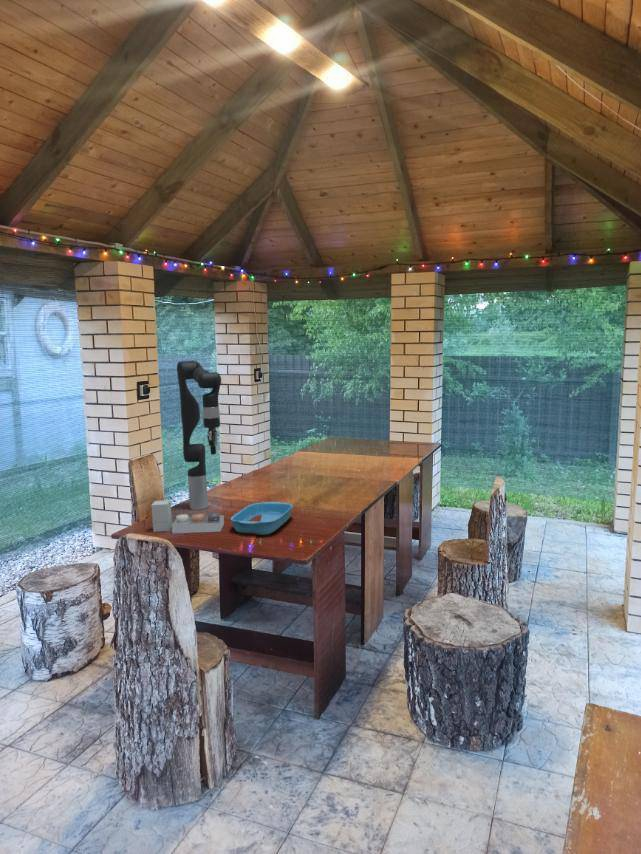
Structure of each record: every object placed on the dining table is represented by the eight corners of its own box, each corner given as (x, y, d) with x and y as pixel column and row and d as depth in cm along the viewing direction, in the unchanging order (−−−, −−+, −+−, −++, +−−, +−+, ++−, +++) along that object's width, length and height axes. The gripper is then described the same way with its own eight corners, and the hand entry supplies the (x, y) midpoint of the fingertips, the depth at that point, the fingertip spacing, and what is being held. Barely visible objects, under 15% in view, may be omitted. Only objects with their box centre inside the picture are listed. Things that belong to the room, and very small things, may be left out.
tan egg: (194, 527, 266) (193, 513, 266) (205, 527, 267) (204, 513, 266) (191, 531, 261) (190, 516, 260) (203, 531, 261) (202, 516, 260)
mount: (178, 527, 270) (177, 516, 269) (224, 525, 270) (223, 515, 269) (172, 535, 258) (171, 524, 257) (220, 533, 258) (219, 522, 258)
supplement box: (172, 526, 271) (171, 499, 270) (169, 531, 264) (167, 504, 262) (156, 527, 271) (154, 500, 269) (152, 532, 264) (150, 504, 262)
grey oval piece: (178, 528, 266) (177, 514, 265) (190, 528, 266) (189, 513, 266) (176, 532, 261) (175, 517, 260) (187, 531, 261) (186, 517, 260)
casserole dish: (255, 513, 289) (254, 499, 288) (298, 515, 283) (297, 501, 282) (224, 537, 254) (223, 521, 253) (272, 540, 248) (272, 523, 247)
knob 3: (209, 527, 267) (208, 512, 266) (221, 526, 267) (220, 512, 266) (207, 530, 261) (206, 516, 261) (219, 530, 262) (218, 515, 261)
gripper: (205, 415, 273) (207, 451, 275) (200, 418, 260) (202, 457, 262) (221, 414, 273) (223, 451, 275) (217, 418, 260) (219, 456, 262)
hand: (213, 454), depth 269 cm, fingers closed
